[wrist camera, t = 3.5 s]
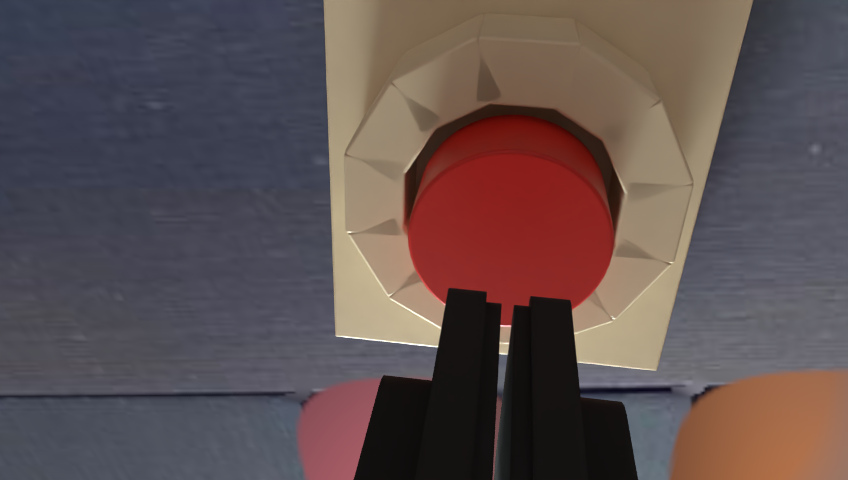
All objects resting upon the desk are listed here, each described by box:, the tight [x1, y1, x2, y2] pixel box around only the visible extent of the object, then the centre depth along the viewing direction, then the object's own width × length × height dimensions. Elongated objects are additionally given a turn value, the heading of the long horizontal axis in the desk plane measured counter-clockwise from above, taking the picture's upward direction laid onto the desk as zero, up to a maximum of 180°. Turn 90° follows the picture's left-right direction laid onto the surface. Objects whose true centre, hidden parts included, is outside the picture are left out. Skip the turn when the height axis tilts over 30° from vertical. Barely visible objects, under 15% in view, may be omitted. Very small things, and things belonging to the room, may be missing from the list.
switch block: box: [324, 0, 753, 371], centre depth 15 cm, size 10×8×4 cm
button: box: [408, 115, 614, 327], centre depth 13 cm, size 4×4×2 cm
